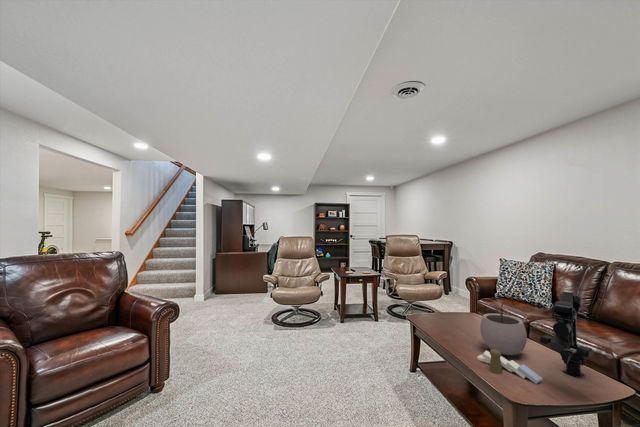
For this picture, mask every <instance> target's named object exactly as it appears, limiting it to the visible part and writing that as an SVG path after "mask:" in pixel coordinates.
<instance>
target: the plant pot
mask: <svg viewBox="0 0 640 427" xmlns="http://www.w3.org/2000/svg"><path fill="white" fill-rule="evenodd" d="M503 305H504V303H501V305H500V306H501V307H499V306H497V305H496V306H495V307H496V308H499V309H500V312H499V310H497V309H496V308H494V309H493V310H494V311H495V312H497V313H485V314H483V315H482V317H481V321H480V326H479V327H480V329H479V331H480V334H481V338H482V341H483V342H484V344H485V345H486V346H487V347H488V348H489V349H490V350H491V349H496V350H498V351H500V352H501V356H515V355H518V354H520V353H522V352H523V351H524V350H525V348H526V346H527V345H526V344H527V339H528V338H527V337H528V336H527V330H526V326H525V323H524V321H523V320H522V319H520V318H518V317H515V316H512V315H510V314H509V315H507V314H503V312H504V308H506V306H504V308H503Z"/></svg>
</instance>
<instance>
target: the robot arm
mask: <svg viewBox="0 0 640 427" xmlns="http://www.w3.org/2000/svg"><path fill="white" fill-rule="evenodd" d="M582 307H583V303H582V298H581V297H579V296H577V295H576V293H573V292H568V291H562V292H561V294H560V295H559V301H558V300H557V301H555V302H554V304H553V305H552V311H551V319H555V322H554V324H553V325H552V330H553V332H554V333H555V334H554V336H551V335H547V334H544V335H541V336H539V343H541V344H544V345H548V344H549V343H550V344H551V348H552V349H554V350H555V349H556V350H557V352H558V353H559V355H560V357H561V361H563V363H564V364H565V369H564V370H563V371H562V372H563V373H565V374H568V375H570V376H573V377H576V378H580V377H583V376H584V375H585V374H584V373H583V372H582V371H581V366H586V358H591V357H593V356H594V355H595V353H594V350H593V349H592V348H591V347H587V346H584V345H581V346H579V344H578V330H577V328H578V327H577V324H578V323H577V315H578V314H579V313H580V312H581V308H582Z"/></svg>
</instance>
